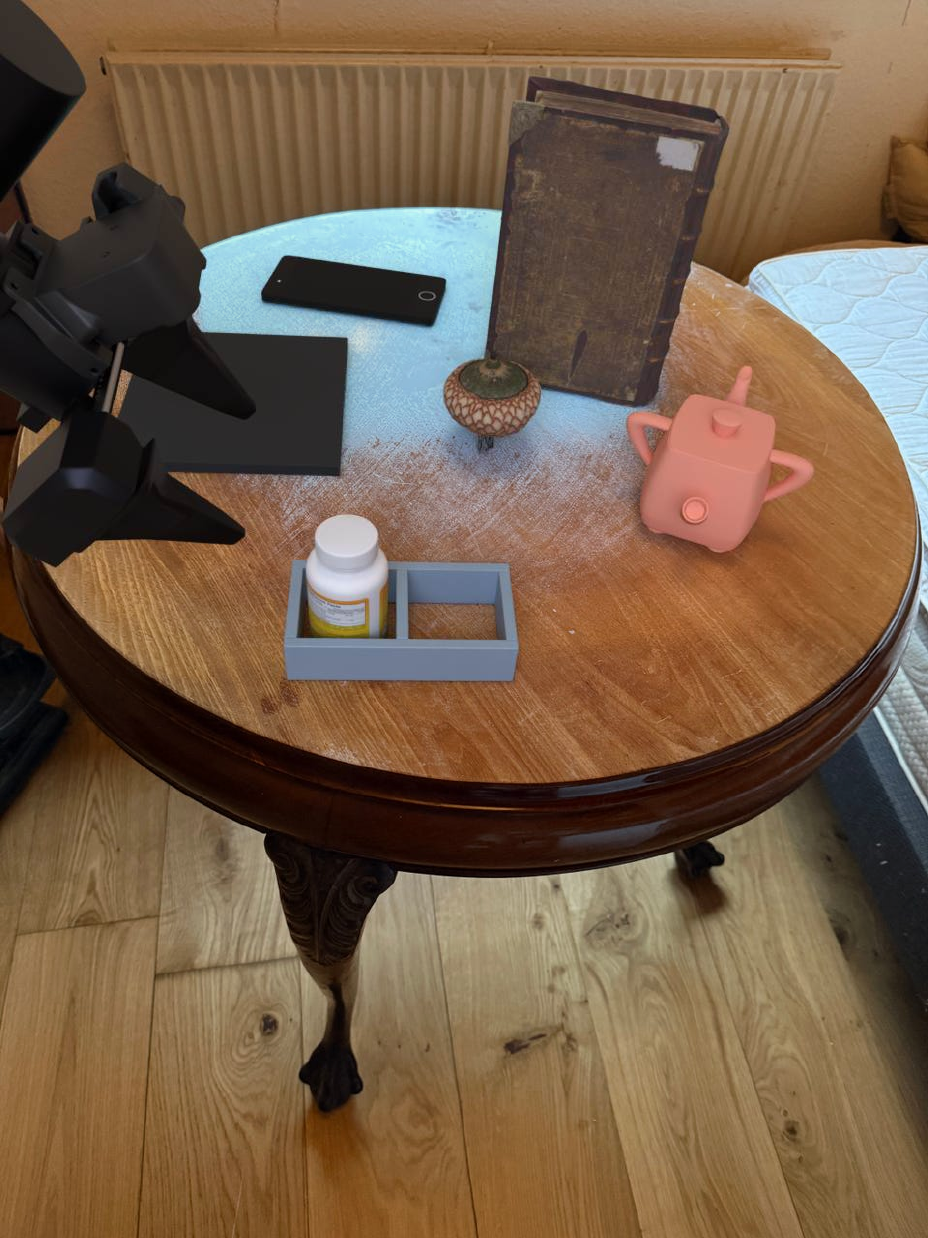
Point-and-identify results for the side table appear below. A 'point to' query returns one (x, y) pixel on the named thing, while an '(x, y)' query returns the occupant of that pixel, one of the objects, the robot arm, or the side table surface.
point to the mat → (285, 416)
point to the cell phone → (355, 289)
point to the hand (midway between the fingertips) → (246, 472)
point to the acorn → (491, 398)
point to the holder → (403, 653)
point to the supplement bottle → (347, 580)
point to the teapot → (712, 468)
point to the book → (598, 235)
